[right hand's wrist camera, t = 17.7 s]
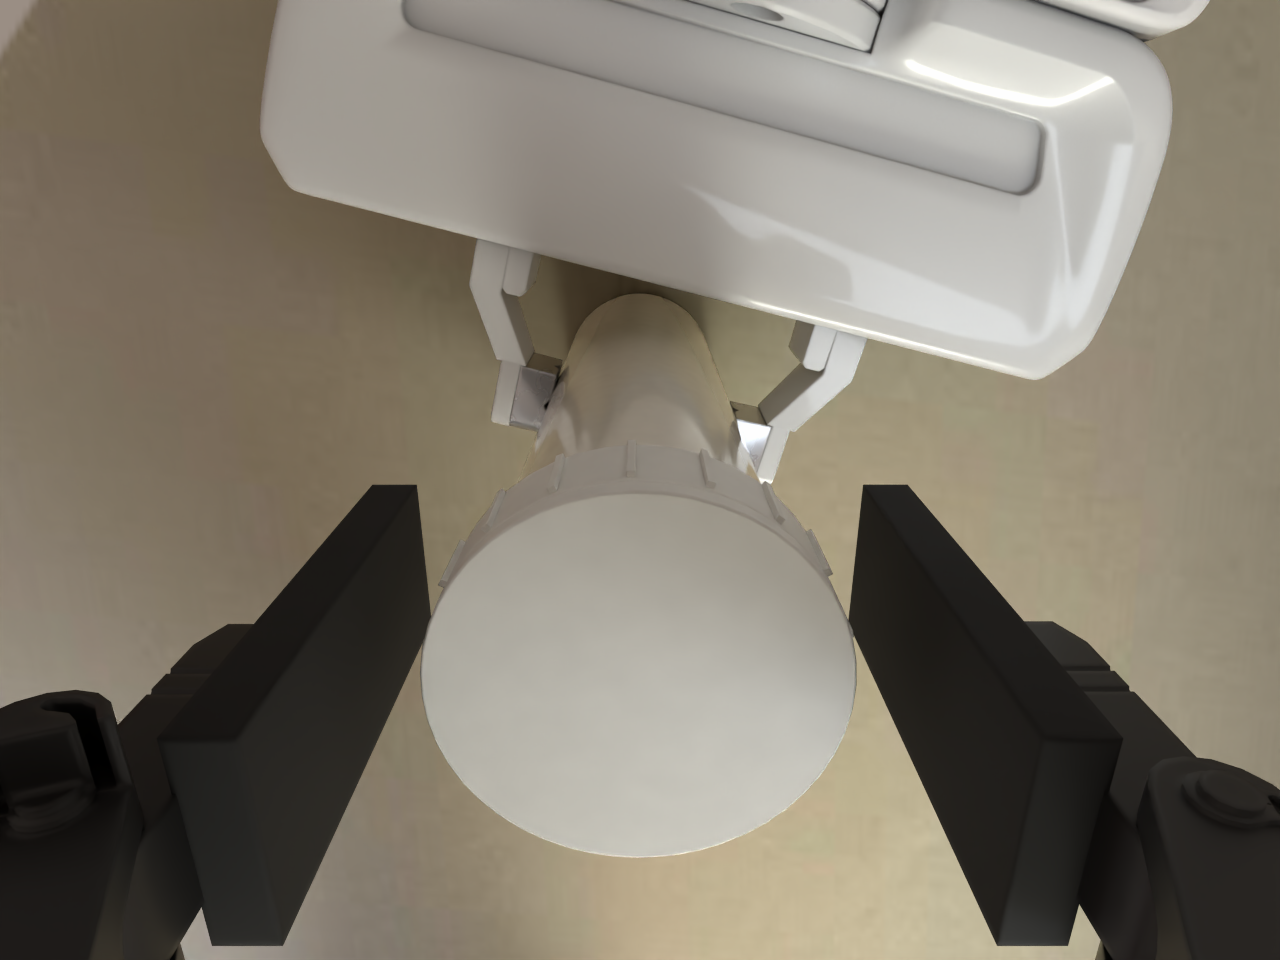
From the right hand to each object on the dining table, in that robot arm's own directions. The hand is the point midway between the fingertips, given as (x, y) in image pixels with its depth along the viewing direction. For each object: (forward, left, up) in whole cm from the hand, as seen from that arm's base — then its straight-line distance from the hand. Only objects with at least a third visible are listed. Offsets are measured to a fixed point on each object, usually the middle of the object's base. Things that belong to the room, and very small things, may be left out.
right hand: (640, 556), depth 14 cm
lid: (0, 0, +4) cm, 4 cm away
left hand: (0, +1, -8) cm, 8 cm away
